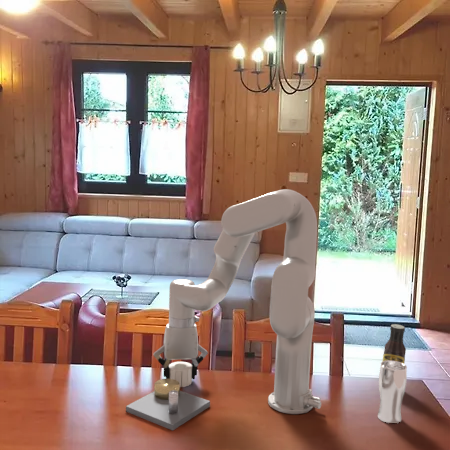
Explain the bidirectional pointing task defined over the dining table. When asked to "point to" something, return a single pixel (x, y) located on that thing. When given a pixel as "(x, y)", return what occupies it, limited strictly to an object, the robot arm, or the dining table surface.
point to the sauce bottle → (395, 345)
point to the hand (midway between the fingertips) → (180, 377)
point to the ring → (181, 373)
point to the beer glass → (391, 390)
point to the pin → (173, 402)
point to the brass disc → (165, 388)
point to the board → (159, 409)
